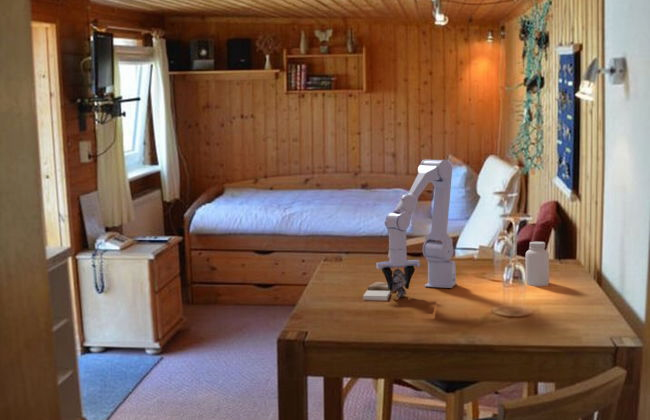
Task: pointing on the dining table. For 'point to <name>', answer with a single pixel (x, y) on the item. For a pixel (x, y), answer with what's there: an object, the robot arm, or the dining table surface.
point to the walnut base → (380, 287)
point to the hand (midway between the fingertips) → (398, 288)
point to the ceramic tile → (376, 295)
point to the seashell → (399, 282)
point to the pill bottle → (537, 265)
